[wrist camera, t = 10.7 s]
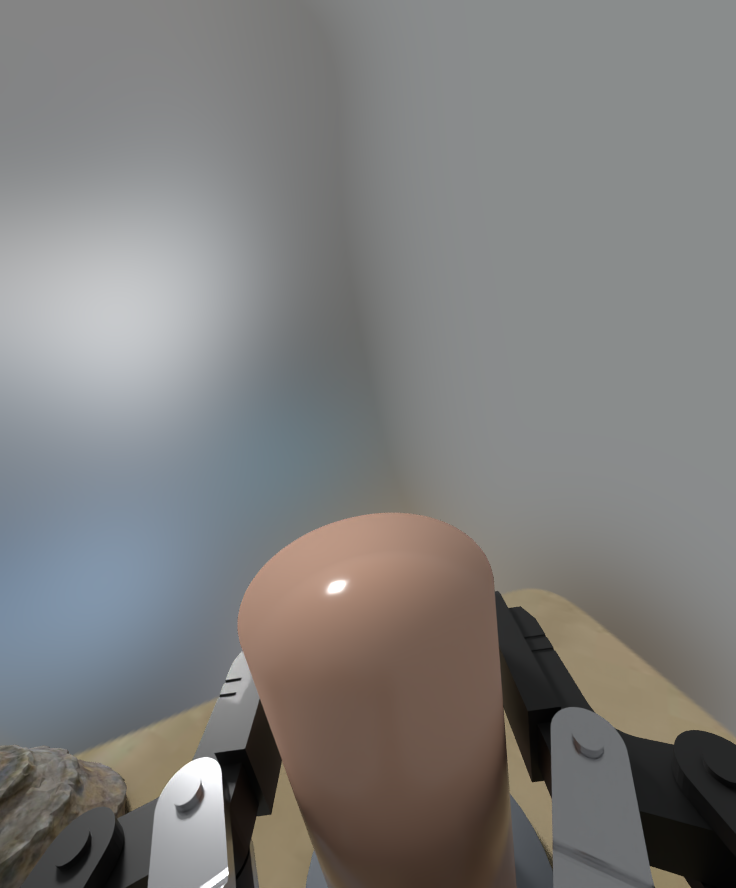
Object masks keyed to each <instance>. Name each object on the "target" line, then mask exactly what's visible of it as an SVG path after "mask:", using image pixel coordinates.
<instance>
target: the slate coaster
mask: <svg viewBox="0 0 736 888" xmlns="http://www.w3.org/2000/svg"><path fill="white" fill-rule="evenodd" d="M510 803H511V817H512V830H513V843H514V857H515V870H516V883H517V888H553V871H552V868H551V866H550V863H549V861H548V858H547V856H546V853H545V851H544V848H543V846H542V844H541V842H540V840H539V838H538V836H537V834H536V832H535V830H534V828H533V827H532V825H531V823H530V822H529V820H528V819H527V817H526V815H525V814H524V812H523V810H522V809H521V808H520V806H519V805H518V804H517V802H516V801H515V800H514V798H513V797H512V796H511V794H510ZM306 888H328V887H327V884H326V881H325V878H324V876H323V873H322V870H321V867H320V864H319V862H318V859H317V856H316V853H315V851H314V852H313V855H312V859H311V863H310V867H309V872H308V876H307V882H306Z"/></svg>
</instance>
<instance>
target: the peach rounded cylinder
mask: <svg viewBox="0 0 736 888" xmlns="http://www.w3.org/2000/svg"><path fill="white" fill-rule="evenodd" d="M238 635H239V640H240V644H241V647H242V649H243V653H244V656H245V658H246V661H247V664H248V667H249V669H250V672H251V675H252V678H253V681H254V683H255V686H256V689H257V692H258V695H259V697H260V700H261V703H262V706H263V708H264V711H265V714H266V717H267V720H268V722H269V725H270V728H271V731H272V734H273V736H274V739H275V742H276V745H277V747H278V750H279V753H280V756H281V759H282V761H283V764H284V767H285V770H286V773H287V775H288V778H289V781H290V784H291V786H292V789H293V792H294V795H295V798H296V800H297V803H298V806H299V809H300V812H301V814H302V817H303V820H304V823H305V825H306V828H307V831H308V834H309V837H310V839H311V842H312V845H313V848H314V851H315V853H316V856H317V859H318V862H319V864H320V867H321V870H322V873H323V876H324V878H325V881H326V884H327V887H328V888H517V883H516V870H515V857H514V843H513V830H512V817H511V803H510V790H509V777H508V763H507V750H506V736H505V723H504V710H503V696H502V683H501V670H500V656H499V643H498V630H497V616H496V603H495V590H494V577H493V574H492V569H491V566H490V564H489V561H488V559H487V557H486V555H485V554H484V552H483V551H482V550H481V548H480V547H479V546H478V545H477V544H476V543H475V542H474V540H473V539H472V538H470V537H469V536H468V535H466V534H465V533H463V532H462V531H461V530H459V529H457V528H456V527H454V526H451V525H450V524H447V523H445V522H443V521H439V520H437V519H433V518H430V517H426V516H421V515H415V514H407V513H376V514H368V515H362V516H356V517H351V518H348V519H343V520H340V521H337V522H334V523H331V524H328V525H326V526H323V527H320V528H318V529H316V530H314V531H311V532H310V533H307V534H305V535H304V536H302V537H300V538H298V539H297V540H295V541H293V542H292V543H290V544H289V545H287V546H286V547H284V548H283V549H282V550H281V551H279V552H278V553H277V554H276V555H275V556H273V557H272V558H271V559H270V560H269V561H268V562H267V563H266V564H265V565H264V566H263V568H262V569H261V570H260V571H259V572H258V573H257V575H256V576H255V577H254V579H253V580H252V582H251V583H250V585H249V587H248V589H247V590H246V592H245V594H244V597H243V600H242V603H241V605H240V610H239V615H238Z"/></svg>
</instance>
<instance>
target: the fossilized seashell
mask: <svg viewBox="0 0 736 888" xmlns="http://www.w3.org/2000/svg"><path fill="white" fill-rule="evenodd" d="M126 789H127V787H126V784H125V782H124V779H123V778H122V777H121V776H120V775H119V774H118V773H117V772H115V771H114V770H112V769H111V768H110V767H108V766H105V765H103V764H101V763H94V762H86V761H82V760H78V759H77V758H76V757H74V756H72V755H71V754H69V752H68V750H66V749H60V748H50V747H48V746H40V747H35V748H31V749H28V748H26V747H25V748H22V747H20V746H18V745H10V746H0V888H20V887H21V885H22V884H23V882H24V881H25V879H26V878H27V877H28V875H29V874H30V872H31V871H32V870H33V868H34V867H35V865H36V864H37V862H38V861H39V860H40V858H41V857H42V855H43V854H44V853H45V851H46V850H47V848H48V847H49V846H50V844H51V843H52V842H53V840H54V839H55V838H56V837H57V836H58V835H59V833H60V832H61V831H62V830H63V829H64V828H65V827H66V826H68V825H69V824H70V823H71V822H72V821H73V820H75V819H76V818H77V817H79V816H80V815H82V814H83V813H85V812H87V811H89V810H91V809H93V808H97V807H103V806H104V807H108V808H110V809H111V810H112V811H113V812H114V814H115V816H116V817H117V818H119V817H121V816H123V815H125V804H126Z"/></svg>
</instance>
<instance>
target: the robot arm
mask: <svg viewBox="0 0 736 888" xmlns="http://www.w3.org/2000/svg"><path fill="white" fill-rule="evenodd" d="M495 603H496V616H497V630H498V643H499V656H500V670H501V683H502V696H503V707H504V710H505V713H506V715H507V718H508V720H509V723H510V726H511V728H512V731H513V734H514V736H515V739H516V741H517V744H518V747H519V749H520V752H521V755H522V757H523V760H524V762H525V765H526V768H527V770H528V773H529V776H530V778H531V781H532V782H538V781H545V784H546V786H547V789H548V791H549V793H550V796H551V798H552V824H553V888H655V886H654V883H653V879H652V875H651V870H650V866H652V867H655V868H659V869H662V870H665V871H668V872H671V873H674V874H677V875H681V876H684V878H685V879H686V881H687V882H688V884H689V885H690V886H691V888H736V745H735V744H733V743H732V742H730V741H728V740H726V739H724V738H722V737H720V736H718V735H715V734H712V733H709V732H705V731H699V730H690V731H685V732H683V733H681V734H680V735H678V736H677V738H676V740H675V743H674V745H672V744H667V743H663V742H658V741H653V740H648V739H643V738H639V737H635V736H631V735H629V734H626V733H623V732H621V731H619V730H617V729H616V728H614V727H613V726H612V725H611V724H610V723H609V722H608V721H606V720H605V719H604V718H602V717H601V716H599V715H598V714H596V713H595V712H594V711H593V709H592V708H591V707H590V706H589V704H588V703H587V701H586V700H585V698H584V696H583V695H582V693H581V691H580V690H579V688H578V687H577V685H576V683H575V682H574V680H573V678H572V677H571V675H570V674H569V672H568V670H567V669H566V667H565V666H564V664H563V662H562V661H561V659H560V657H559V656H558V654H557V653H556V651H554V649H553V646H552V645H551V643H550V641H549V640H548V638H547V637H546V636H545V633H544V632H543V630H542V628H541V627H540V625H539V623H538V622H537V620H536V619H535V618H534V617H533V616H532V615H530V614H529V613H528V612H527V611H525V610H524V609H523V608H522V607H521V606H520V607H514V608H508V607H507V605H506V603H505V601H504V600H503V598H502V596H501V594H500V593H499V592H498V591H496V592H495ZM281 762H282V759H281V756H280V753H279V750H278V747H277V745H276V742H275V739H274V736H273V734H272V731H271V728H270V725H269V722H268V720H267V717H266V714H265V711H264V708H263V706H262V703H261V700H260V697H259V695H258V692H257V689H256V686H255V683H254V681H253V678H252V675H251V672H250V669H249V667H248V664H247V661H246V658H245V656H244V653H243V650H242V652H241V653H240V654H239V656H238V657H237V658H236V659H235V661H234V662H233V663H232V666H231V668H230V671H229V673H228V675H227V678H226V683H225V684H224V685H223V688H222V690H221V692H220V698H218V700H217V702H216V705H215V707H214V709H213V712H212V714H211V717H210V719H209V722H208V724H207V726H206V729H205V731H204V734H203V736H202V739H201V741H200V743H199V746H198V748H197V751H196V753H195V756H194V758H193V760H192V762H190V763H188V764H187V765H185V766H184V767H183V768H181V769H180V770H179V771H178V772H177V773H176V774H175V775H174V776H173V777H172V778H171V780H170V781H169V782H168V783H167V785H166V786H165V788H164V790H163V791H162V793H161V795H160V797H158V798H156V799H155V800H153V801H151V802H149V803H147V804H145V805H143V806H141V807H139V808H137V809H135V810H133V811H131V812H129V813H127V814H125V815H123V816H121V817H119V818H117V817H116V816H115V814H114V812H113V811H112V810H111V809H110V808H108V807H104V806H103V807H97V808H93V809H91V810H89V811H87V812H85V813H83V814H82V815H80V816H79V817H77V818H76V819H75V820H73V821H72V822H71V823H70V824H69V825H68V826H66V827H65V828H64V829H63V830H62V831H61V832H60V833H59V835H58V836H57V837H56V838H55V839H54V840H53V842H52V843H51V844H50V846H49V847H48V848H47V850H46V851H45V853H44V854H43V855H42V857H41V858H40V860H39V861H38V862H37V864H36V865H35V867H34V868H33V870H32V871H31V872H30V874H29V875H28V877H27V878H26V879H25V881H24V882H23V884H22V885H21V887H20V888H259V884H258V876H257V868H256V861H255V853H254V846H253V841H252V839H251V837H252V833H253V829H254V824H255V820H256V816H263V815H271V813H272V808H273V803H274V798H275V793H276V788H277V783H278V778H279V773H280V767H281Z"/></svg>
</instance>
